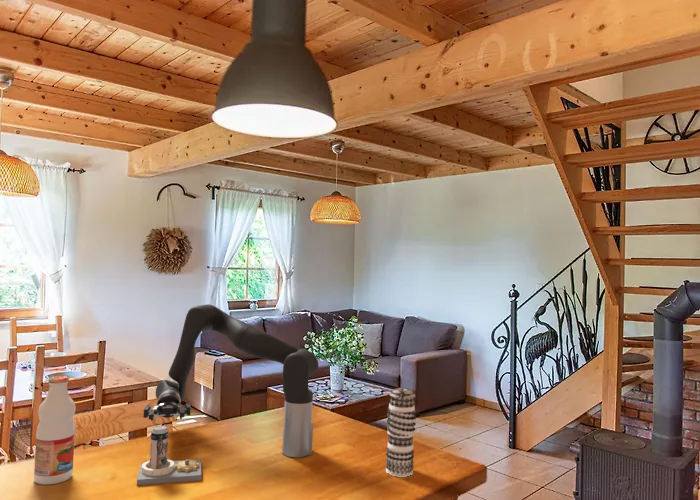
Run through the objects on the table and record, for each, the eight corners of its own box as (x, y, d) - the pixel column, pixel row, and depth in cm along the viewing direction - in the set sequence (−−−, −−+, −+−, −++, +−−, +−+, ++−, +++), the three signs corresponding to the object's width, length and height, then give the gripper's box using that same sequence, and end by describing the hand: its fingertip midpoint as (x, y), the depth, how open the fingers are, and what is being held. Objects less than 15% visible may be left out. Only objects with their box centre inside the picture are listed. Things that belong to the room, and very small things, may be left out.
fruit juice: (40, 472, 148) (46, 373, 149) (76, 470, 150) (81, 373, 151) (28, 486, 139) (33, 381, 140) (66, 484, 141) (72, 381, 142)
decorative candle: (394, 479, 153) (398, 394, 154) (378, 468, 161) (382, 387, 162) (420, 475, 157) (423, 392, 158) (403, 464, 166) (406, 385, 166)
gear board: (200, 464, 159) (201, 451, 159) (201, 480, 147) (201, 467, 148) (141, 468, 154) (141, 455, 154) (136, 485, 143) (137, 471, 143)
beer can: (160, 473, 147) (162, 431, 147) (145, 471, 148) (147, 429, 148) (169, 467, 152) (172, 425, 152) (155, 465, 153) (157, 424, 153)
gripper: (146, 393, 175) (142, 405, 159) (191, 390, 179) (190, 403, 164) (146, 415, 175) (141, 430, 159) (190, 412, 179) (190, 427, 163)
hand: (166, 416), depth 161 cm, fingers open, 8 cm apart
